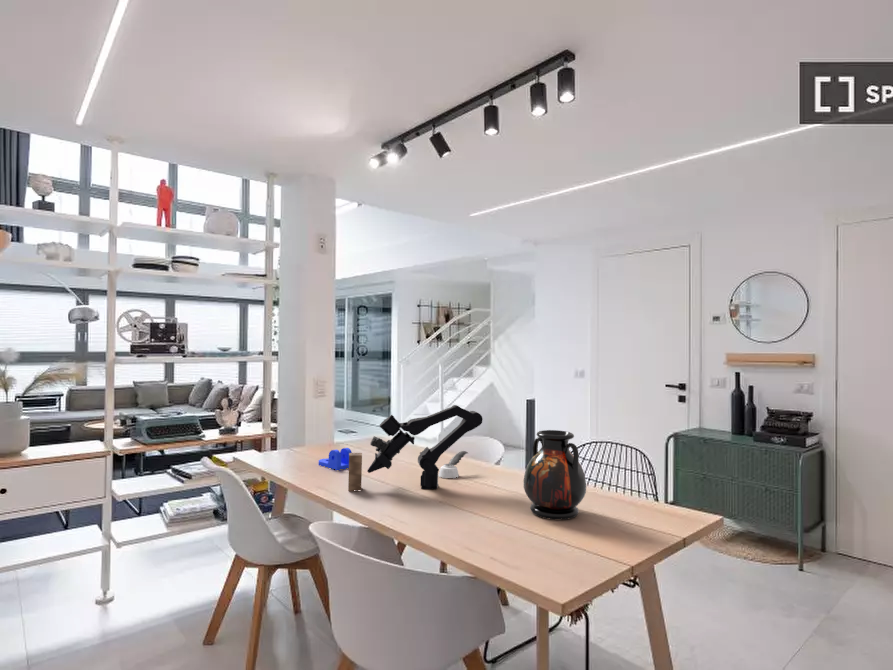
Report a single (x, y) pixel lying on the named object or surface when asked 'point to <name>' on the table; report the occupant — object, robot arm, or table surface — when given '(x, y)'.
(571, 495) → the amphora vase
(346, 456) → the bracket
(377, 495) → the table surface
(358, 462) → the walnut block
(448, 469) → the inkwell
